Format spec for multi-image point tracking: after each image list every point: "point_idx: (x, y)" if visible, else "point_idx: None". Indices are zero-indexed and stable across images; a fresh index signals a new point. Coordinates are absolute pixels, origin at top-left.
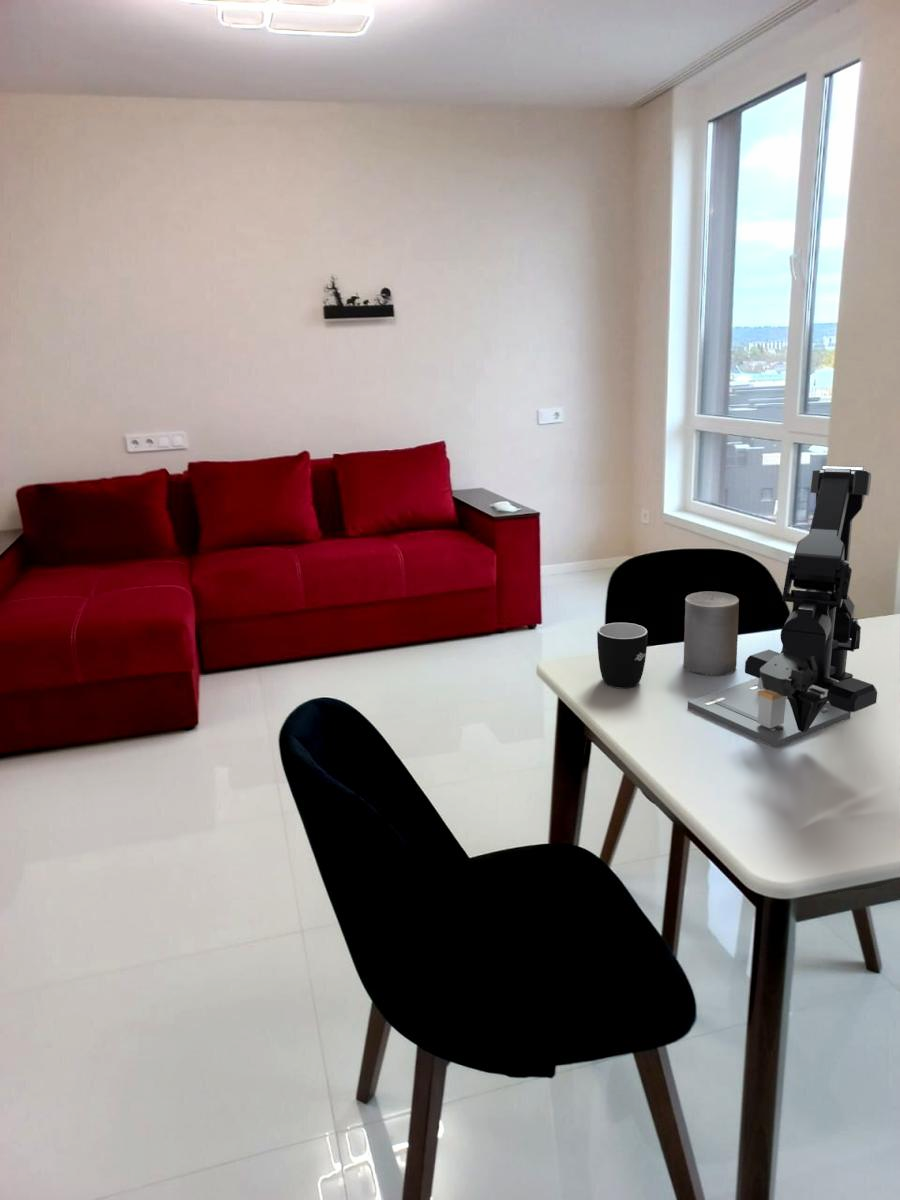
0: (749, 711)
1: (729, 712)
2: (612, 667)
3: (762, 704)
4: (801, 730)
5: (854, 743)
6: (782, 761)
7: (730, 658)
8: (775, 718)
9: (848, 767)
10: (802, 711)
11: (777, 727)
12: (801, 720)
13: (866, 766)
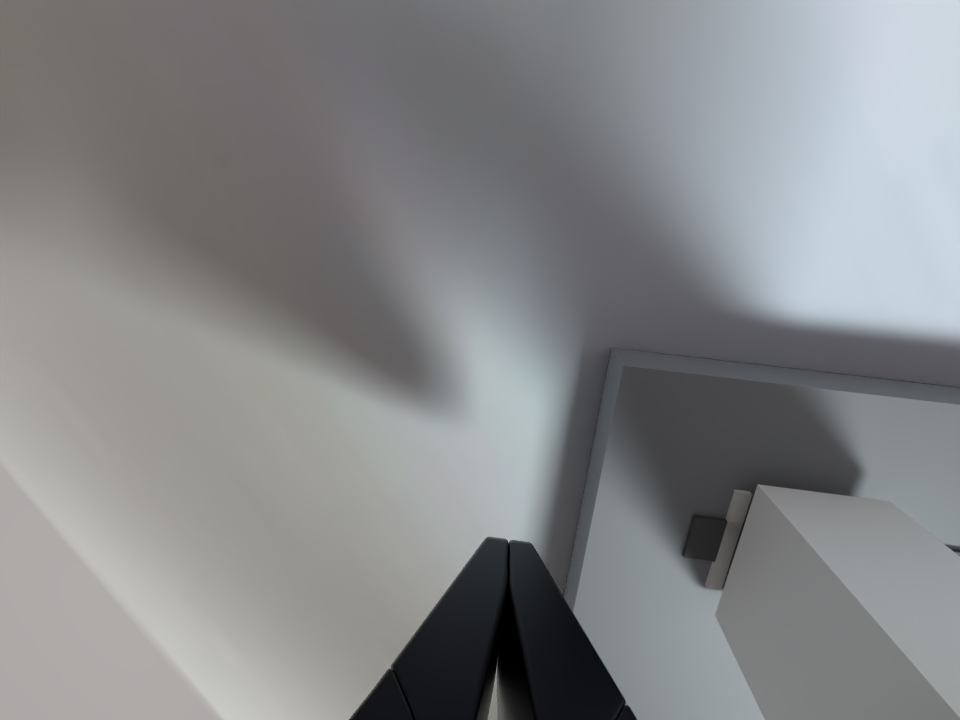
0: None
1: None
2: None
3: None
4: (500, 542)
5: (347, 675)
6: (472, 202)
7: None
8: (780, 589)
9: (190, 435)
10: (458, 716)
11: (726, 549)
12: (489, 609)
13: (153, 507)
